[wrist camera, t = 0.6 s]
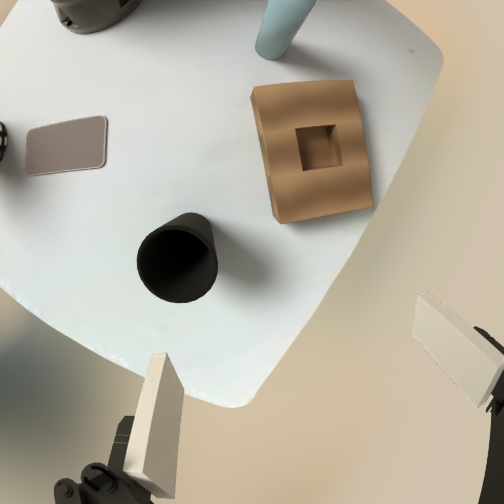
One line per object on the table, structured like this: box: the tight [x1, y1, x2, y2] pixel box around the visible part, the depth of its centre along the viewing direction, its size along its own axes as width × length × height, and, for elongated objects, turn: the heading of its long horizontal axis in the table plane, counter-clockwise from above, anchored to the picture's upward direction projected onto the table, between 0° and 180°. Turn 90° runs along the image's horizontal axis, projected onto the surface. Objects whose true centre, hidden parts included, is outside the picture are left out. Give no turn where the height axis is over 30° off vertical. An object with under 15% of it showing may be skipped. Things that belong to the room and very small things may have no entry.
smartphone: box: [25, 115, 107, 176], centre depth 30 cm, size 7×1×15 cm
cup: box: [137, 213, 218, 303], centre depth 30 cm, size 8×8×12 cm
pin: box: [255, 0, 316, 60], centre depth 22 cm, size 4×4×14 cm
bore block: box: [251, 80, 373, 224], centre depth 31 cm, size 16×12×5 cm
